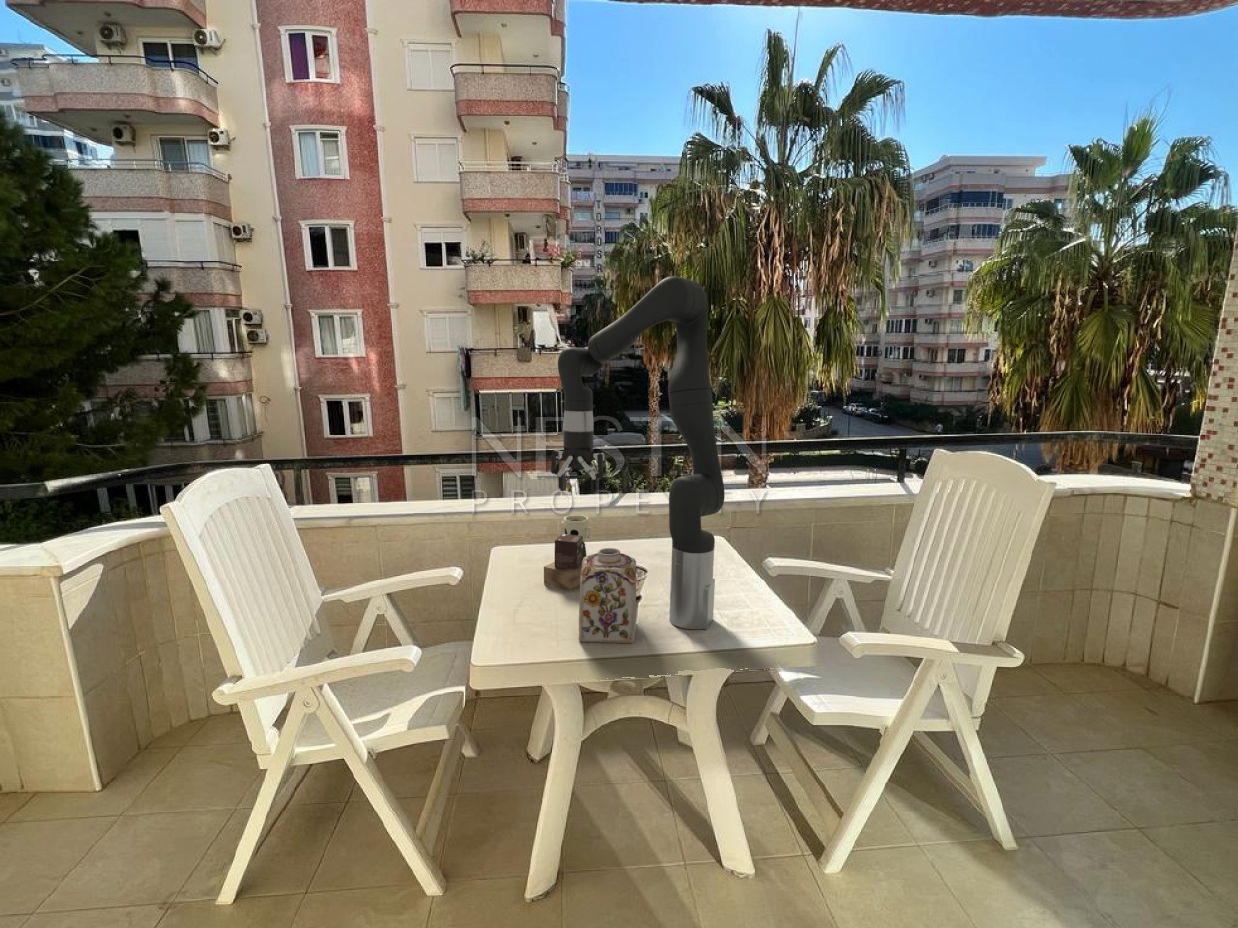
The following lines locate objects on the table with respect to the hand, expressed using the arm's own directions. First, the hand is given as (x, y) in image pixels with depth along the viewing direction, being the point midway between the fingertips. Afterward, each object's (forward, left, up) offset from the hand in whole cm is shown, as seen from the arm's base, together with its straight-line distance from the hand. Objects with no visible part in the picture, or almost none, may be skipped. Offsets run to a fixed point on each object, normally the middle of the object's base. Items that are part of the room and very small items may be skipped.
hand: (578, 492), depth 151 cm
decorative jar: (-18, +24, -24) cm, 38 cm away
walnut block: (+2, +2, -24) cm, 24 cm away
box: (+2, +2, -19) cm, 20 cm away
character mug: (+7, -13, -24) cm, 28 cm away
